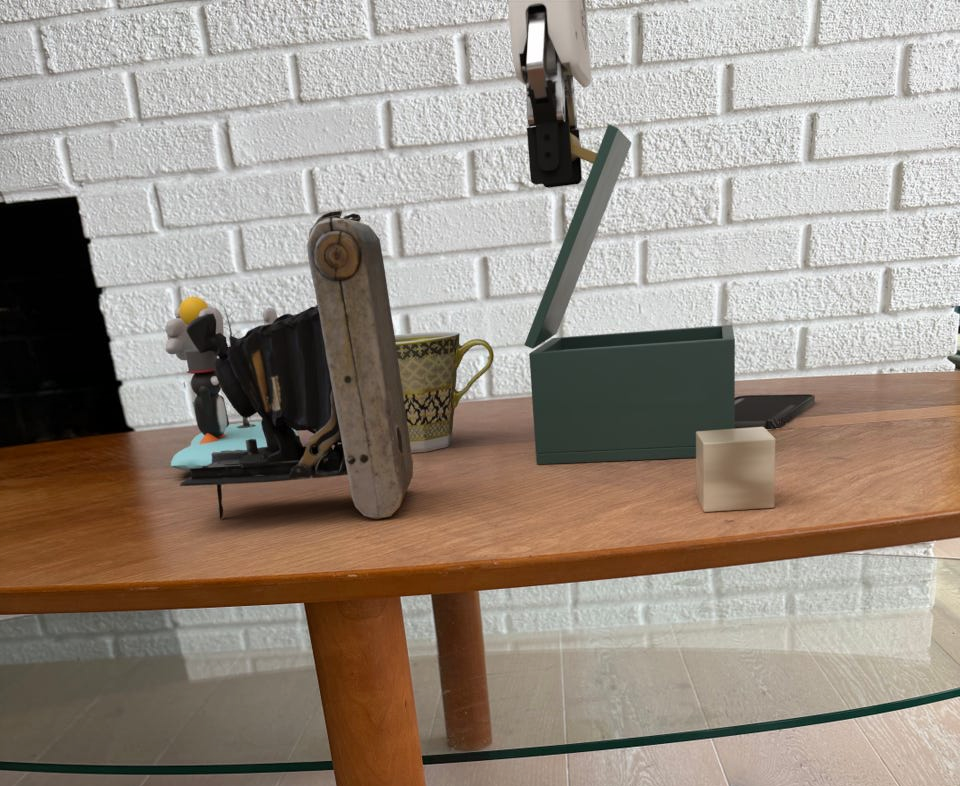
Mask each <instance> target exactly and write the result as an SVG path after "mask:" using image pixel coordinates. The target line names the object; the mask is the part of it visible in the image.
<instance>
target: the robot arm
mask: <svg viewBox="0 0 960 786" xmlns="http://www.w3.org/2000/svg"><path fill="white" fill-rule="evenodd" d="M507 8H508V20H509V21H508V22H509V34H510V44H511V45H510V46H511V54H512V62H513V68H514V72H515V76H516V78H517V79H518V81H519V82H520V83H522V84H523V86H525V91H526V94H525V95H526V120H527V125H528V126H527V127H526V135H527V149H528V160H529V161H528V164H529V176H530V182H531V184H533V185H536V186H537V185H543V187H544V188H548V189H550V188H558V187H566V186H575V185H580V184H581V182H582V181H583V174H582V173H583V172H582V159H581V158H577V159H576V160H574V161H572V158H571V141H570V133H571V134H573V135H574V136H576V137H577V138H578V139H579V141H580V142H581V140H580V138H581V137H580V130H579V129H578V118H577V108H576V107H577V105H576V97H575V96H576V94H575V86H574V85H575V83H574V80H576V82H577V83H578V84H579V85H580V86H581V87H582V88H588V87H589V86H590V84H591V83H592V82H593V81H592V80H593V76H592V75H593V74H592V65H591V55H590V42H589V29H588V15H587V13H588V12H587V2H586V0H507Z"/></svg>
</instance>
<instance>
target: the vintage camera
mask: <svg viewBox="0 0 960 786" xmlns="http://www.w3.org/2000/svg"><path fill="white" fill-rule="evenodd" d="M342 215H343V211H342V210H337V211H330V212H327V213H323V214H322V215H321V216H320V217H319V218H318V219H317V220H316V222H315V223H314V224H313V226H312V227H310V230H309V233H308V239H307V244H306V248H307V249H306V251H307V260H308V265H309V269H310V275H311V278H312V284H313V287H314V293H315V300H316V305H315V306H311V307H309V308H307V309H304V310H302V311H301V312H299V313H295V314H291V313H285V314H281V315H280V316H279V317H278V316H277V319H276V320H275V321H274V322H273V323H272V324H269V325H264V324H261V325H260V324H259V325H257V326H255V327H253V328H251V329H249V330H247V331H246V333H245V335H244V336H242V337H239V338H238V337H235V336H233V335H232V336H231V337H230V336H229V337H230V338H229V337H228V340H229V343H231V345H230V346H228V341H227V336H225V334H224V335H223V334H221V333H218V334H216V319H215V316H214V313H212V314H205V315H203V316H200V317H198V318H196V319H194V320H193V321H191V323H190V324H189V325H188V327H187V333H188V335H189V337H190V339H191V340H192V342H193V343H194V345H195V347H196V348H197V349H198V351H199V352H200V354H201V353H204V352H207V351H214V354H215V356H217V357H218V358H217V359H216V360H215V361H214V363H213V364H214V371H215V374H216V377H217V379H218V381H219V384H220V386H221V391H222V393H223V394H224V395H225V397H226V399H227V400H228V402H229V403H230V405H231V407H232V408H233V409H234V410H235V411H236V413H237V414H238V415H239V416H241V417H242V418H243V417H244V418H247V419H249V417H250V416H251V417H252V416H254V415H256V414H257V415H258V416H260V417H261V421H260V422H261V425H262V430H263V433H264V435H265V438H266V443H267V447H261V448H257V442H256V439H249V440H246V447H247V450H234V451H230V450H227V451H221V452H213V453H212V463H211V464H209V465H207V466H203V468H193V469H190V471H189V472H190V477H188V478H187V479H185V480H183V481H182V482H180V483H179V487H194V486H195V487H196V486H197V487H198V486H199V487H200V486H216V493H217V499H218V513H219V520H221V519H222V518H223V517H224V507H223V503H222V502H223V493H222V491H223V490H222V485H239V484H240V485H241V484H258V483H272V482H273V483H274V482H275V483H276V482H287V481H297V480H310V479H323V478H326V479H327V478H333V477H340V476H341V477H342V476H347V479H348V484H349V490H350V498H351V499H352V502H353V504H354V507H355V509H357V510H358V511H359V513H361V514H362V516H363V517H366V518H367V517H368V518H371V519H374V520H380V519H385V518H389V517H392V516H393V515H394V514H395V512H396V511H397V510H398V509H399V508H400V507H401V505H402V502H403V500H404V498H405V496H406V493H407V491H408V488H409V486H410V485H411V481H412V479H413V475H414V461H413V456H412V453H411V447H410V439H409V431H408V424H407V417H406V411H405V404H404V397H403V390H402V384H401V378H400V371H399V363H398V356H397V349H396V341H395V335H396V334H395V329H394V323H393V317H392V311H391V304H390V298H389V297H390V296H389V289H388V283H387V277H386V270H385V269H386V268H385V263H384V258H383V257H384V256H383V251H382V247H381V245H382V244H381V239H380V238H379V236H378V235H377V234H376V232H375V231H374V230H373V228H372V227H371V226H370V225H369V224H366V223H364V222H361V220H362V217H361V215H360V214H358V213H350V214H348V215H345V216H343V217H341V216H342ZM255 413H256V414H255ZM293 429H294V430H296V431H297V432H300V431H302V432H303V431H308V432H310V433H312V435H311V437H310V438H309V440H308V442H307V443H306V445H305V446H303V444H302V442H301V438H300V435H297V436H296V434H295V432H294V430H293Z"/></svg>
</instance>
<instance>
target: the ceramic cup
mask: <svg viewBox="0 0 960 786" xmlns="http://www.w3.org/2000/svg"><path fill="white" fill-rule="evenodd" d="M394 335H395V341H396V349H397V356H398V363H399V371H400V378H401V384H402V390H403V397H404V404H405V411H406V417H407V424H408V431H409V439H410V447H411V454H414V453H426V452H431V451H435V450H441V449H446V448H449V446H450V445H451V444H452V441H453V429H454V416H455V409H456V408H457V407H458V405H459V402H460V400H461V399H462V397H463V396H464V395H466V393H467V392H468V391H470V389H471V388H472V386H473V384H474V383H475V382H476V381H477V380H479V379H480V377H482V376H483V375H484V374H485V373H487V371H489V369H490V368H491V366H492V364H493V362H494V359H495V358H494V357H495V356H494V355H495V354H494V350H493V347H492V346H491V344H490V343H489V342H487V340H484V339H482V338H481V339H480V338H474V339H471V340H469V341H468V340H467V341H466V342H465V343H463V344H462V345H461V344H460V333H459V332H457V331H425V332H415V333H414V332H413V333H403V334H394ZM475 346H482V347H485V348H486V350H487V351H488V354H489V357H488V361H487V363H486V364H485V366H484V367H482V368H481V370H479V371H478V372H477V373H476V374H475V375H473V377H472V378H470V380H469V381H468V383H467V384H466V385H465V387H463V389H461V390H457V389H456V387H457V376H458V375H457V374H458V368H459V366H460V365H461V362H462V360H463V358H464V356H465V355H466V354H467V352H468V351H470V349H472V348H473V347H475Z"/></svg>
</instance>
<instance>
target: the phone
mask: <svg viewBox="0 0 960 786" xmlns="http://www.w3.org/2000/svg"><path fill="white" fill-rule="evenodd" d="M815 399H816V395H815V394H811V393H810V394H807V393H802V394H800V393H798V394H745V395H738V396H735V429H738V428H752V427H764V428H765V429H773V430H777V429H776V428H779V429H781V428H783V427H785V426H786V425H787V424H789V423H790V422H791V421H792V420H794V419H795V418H797V417H798V416H799V415H801V414H803V413H804V412H805V411H807V410H808V409H809V408H811V407H812V406H814V405H815V402H816V400H815ZM786 423H787V424H786ZM782 426H783V427H782ZM780 427H781V428H780Z"/></svg>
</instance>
